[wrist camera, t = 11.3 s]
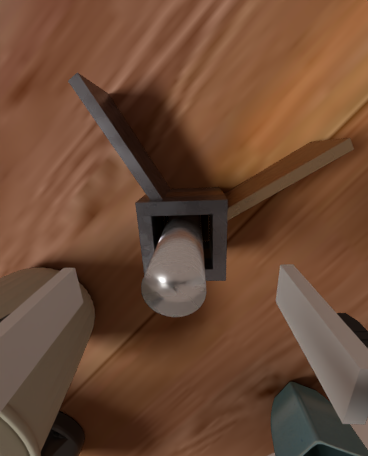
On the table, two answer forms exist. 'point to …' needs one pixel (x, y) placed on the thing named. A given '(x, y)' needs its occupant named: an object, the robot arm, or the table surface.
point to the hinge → (196, 197)
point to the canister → (41, 368)
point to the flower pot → (310, 426)
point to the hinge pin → (177, 269)
